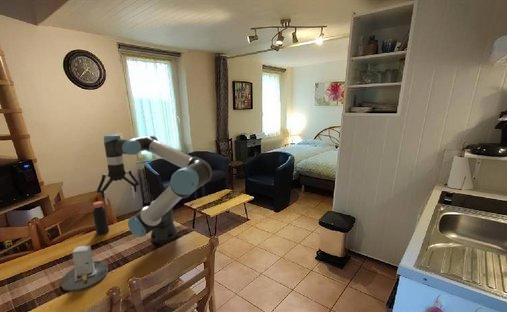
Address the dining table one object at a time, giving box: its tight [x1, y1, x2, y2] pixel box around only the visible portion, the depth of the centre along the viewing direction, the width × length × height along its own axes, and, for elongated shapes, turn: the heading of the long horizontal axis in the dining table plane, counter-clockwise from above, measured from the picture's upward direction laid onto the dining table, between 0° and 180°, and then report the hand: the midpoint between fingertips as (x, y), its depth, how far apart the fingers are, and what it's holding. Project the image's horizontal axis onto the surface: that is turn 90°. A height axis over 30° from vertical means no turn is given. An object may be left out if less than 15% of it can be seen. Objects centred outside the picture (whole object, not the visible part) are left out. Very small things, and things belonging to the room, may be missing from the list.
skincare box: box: [72, 245, 94, 275], centre depth 109 cm, size 6×4×12 cm
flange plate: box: [60, 260, 109, 293], centre depth 110 cm, size 18×18×6 cm
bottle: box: [92, 200, 110, 236], centre depth 146 cm, size 7×7×20 cm
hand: (120, 200), depth 131 cm, fingers open, 13 cm apart
